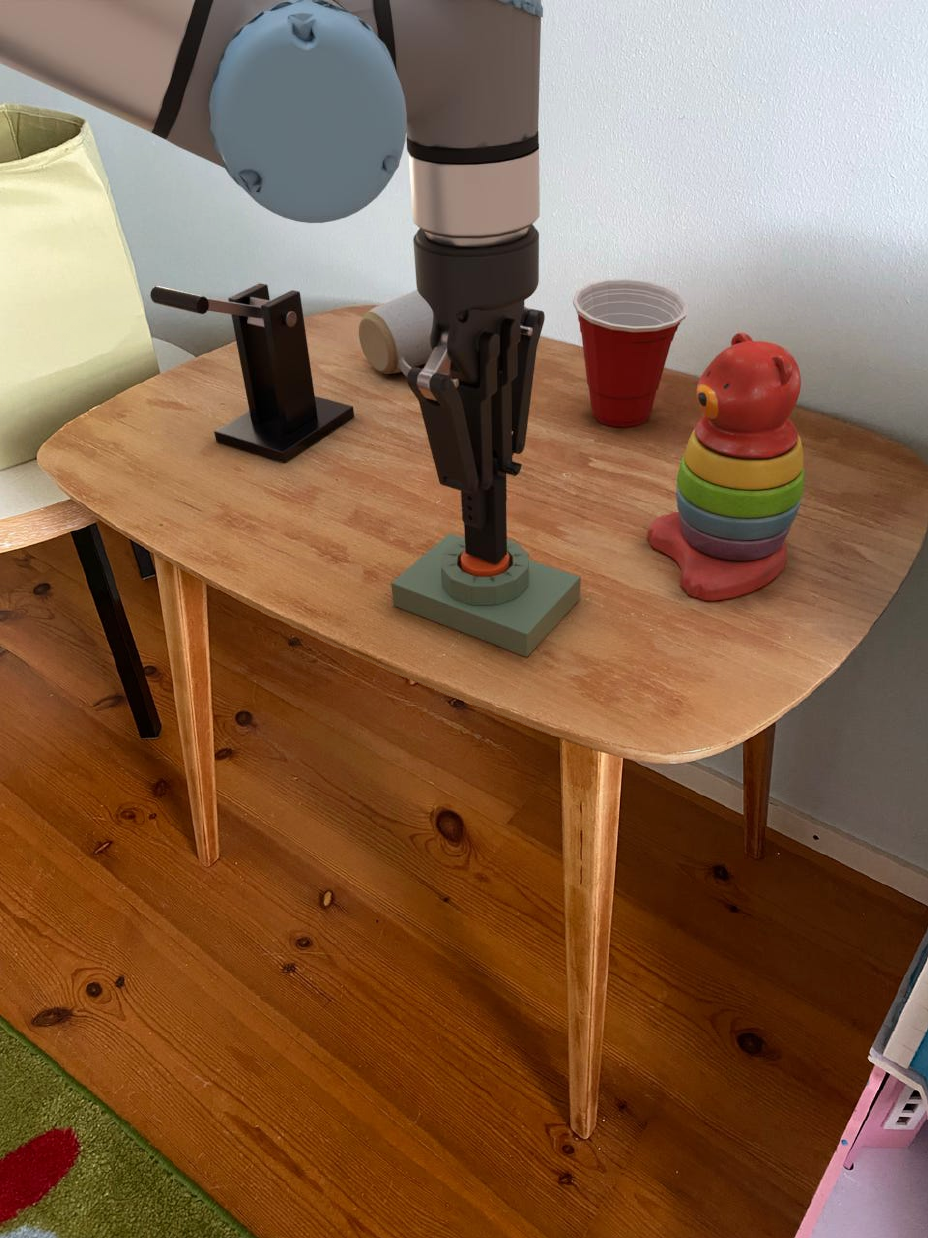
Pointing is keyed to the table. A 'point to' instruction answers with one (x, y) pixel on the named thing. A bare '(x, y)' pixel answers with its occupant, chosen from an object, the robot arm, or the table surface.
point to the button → (483, 566)
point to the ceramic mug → (397, 334)
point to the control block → (488, 596)
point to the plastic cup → (626, 345)
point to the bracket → (278, 383)
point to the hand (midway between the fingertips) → (486, 553)
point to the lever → (208, 304)
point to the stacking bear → (737, 474)
